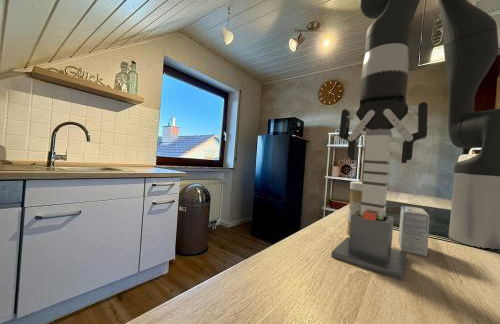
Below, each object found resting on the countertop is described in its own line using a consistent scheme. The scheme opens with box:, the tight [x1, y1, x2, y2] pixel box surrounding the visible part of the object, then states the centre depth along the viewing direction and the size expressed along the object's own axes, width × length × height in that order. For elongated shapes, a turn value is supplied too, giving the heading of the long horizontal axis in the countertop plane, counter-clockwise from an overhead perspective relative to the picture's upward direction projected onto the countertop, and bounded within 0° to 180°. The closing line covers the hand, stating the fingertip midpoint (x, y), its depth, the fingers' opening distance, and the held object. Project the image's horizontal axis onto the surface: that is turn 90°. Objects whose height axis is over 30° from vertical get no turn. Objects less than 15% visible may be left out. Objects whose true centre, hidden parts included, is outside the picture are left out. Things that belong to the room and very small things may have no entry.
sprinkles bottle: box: [346, 181, 363, 236], centre depth 53 cm, size 5×5×14 cm
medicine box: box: [398, 205, 430, 257], centre depth 47 cm, size 8×4×9 cm, turn 148°
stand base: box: [331, 211, 408, 281], centre depth 41 cm, size 11×11×9 cm
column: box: [360, 129, 393, 221], centre depth 41 cm, size 4×4×17 cm
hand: (377, 161), depth 41 cm, fingers open, 8 cm apart
